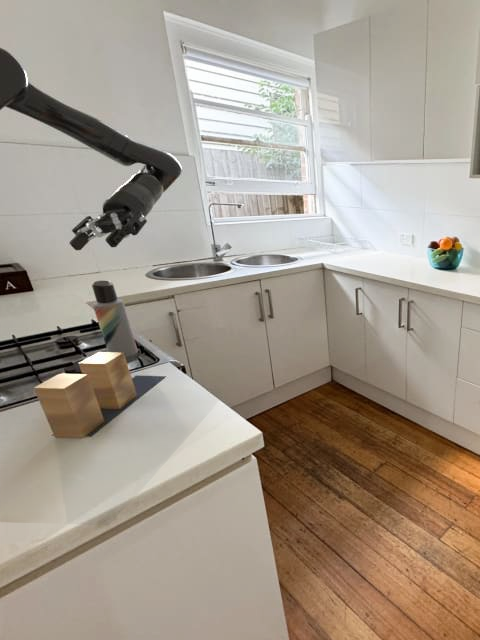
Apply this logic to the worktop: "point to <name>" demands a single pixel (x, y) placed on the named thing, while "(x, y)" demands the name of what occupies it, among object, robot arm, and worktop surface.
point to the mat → (141, 387)
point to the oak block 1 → (70, 405)
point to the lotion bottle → (113, 320)
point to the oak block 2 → (109, 379)
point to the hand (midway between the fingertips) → (92, 245)
